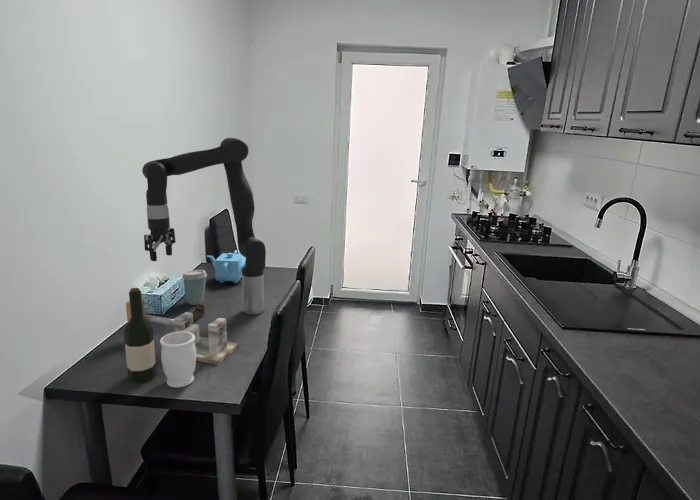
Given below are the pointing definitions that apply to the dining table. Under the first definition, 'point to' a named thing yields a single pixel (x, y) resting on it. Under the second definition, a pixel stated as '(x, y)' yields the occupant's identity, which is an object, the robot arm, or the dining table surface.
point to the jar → (178, 358)
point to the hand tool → (198, 312)
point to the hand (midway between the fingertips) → (161, 257)
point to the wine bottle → (139, 342)
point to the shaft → (149, 317)
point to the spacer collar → (194, 332)
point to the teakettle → (228, 267)
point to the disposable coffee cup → (195, 286)
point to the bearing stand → (209, 339)
